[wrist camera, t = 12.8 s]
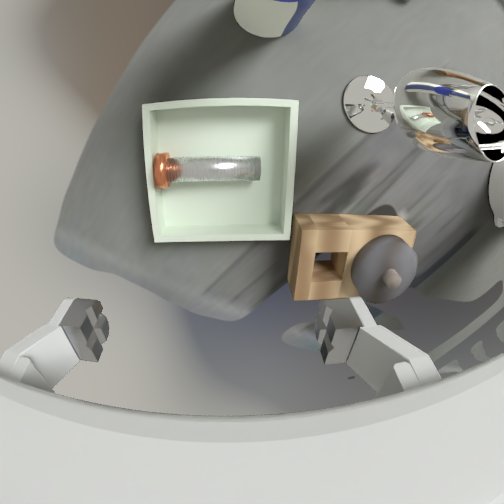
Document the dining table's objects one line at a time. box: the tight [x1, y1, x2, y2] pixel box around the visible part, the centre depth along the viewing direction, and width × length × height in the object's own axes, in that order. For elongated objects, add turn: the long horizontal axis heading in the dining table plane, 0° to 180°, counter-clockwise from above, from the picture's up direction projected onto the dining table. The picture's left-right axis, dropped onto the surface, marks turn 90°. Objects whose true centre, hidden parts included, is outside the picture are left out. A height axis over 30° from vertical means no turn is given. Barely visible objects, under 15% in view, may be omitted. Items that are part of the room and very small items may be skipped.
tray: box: [142, 98, 299, 242], centre depth 30 cm, size 16×16×4 cm
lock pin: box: [154, 152, 261, 189], centre depth 29 cm, size 4×4×11 cm
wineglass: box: [343, 67, 504, 163], centre depth 19 cm, size 8×8×20 cm
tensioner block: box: [287, 213, 418, 303], centre depth 34 cm, size 16×10×9 cm, turn 89°
